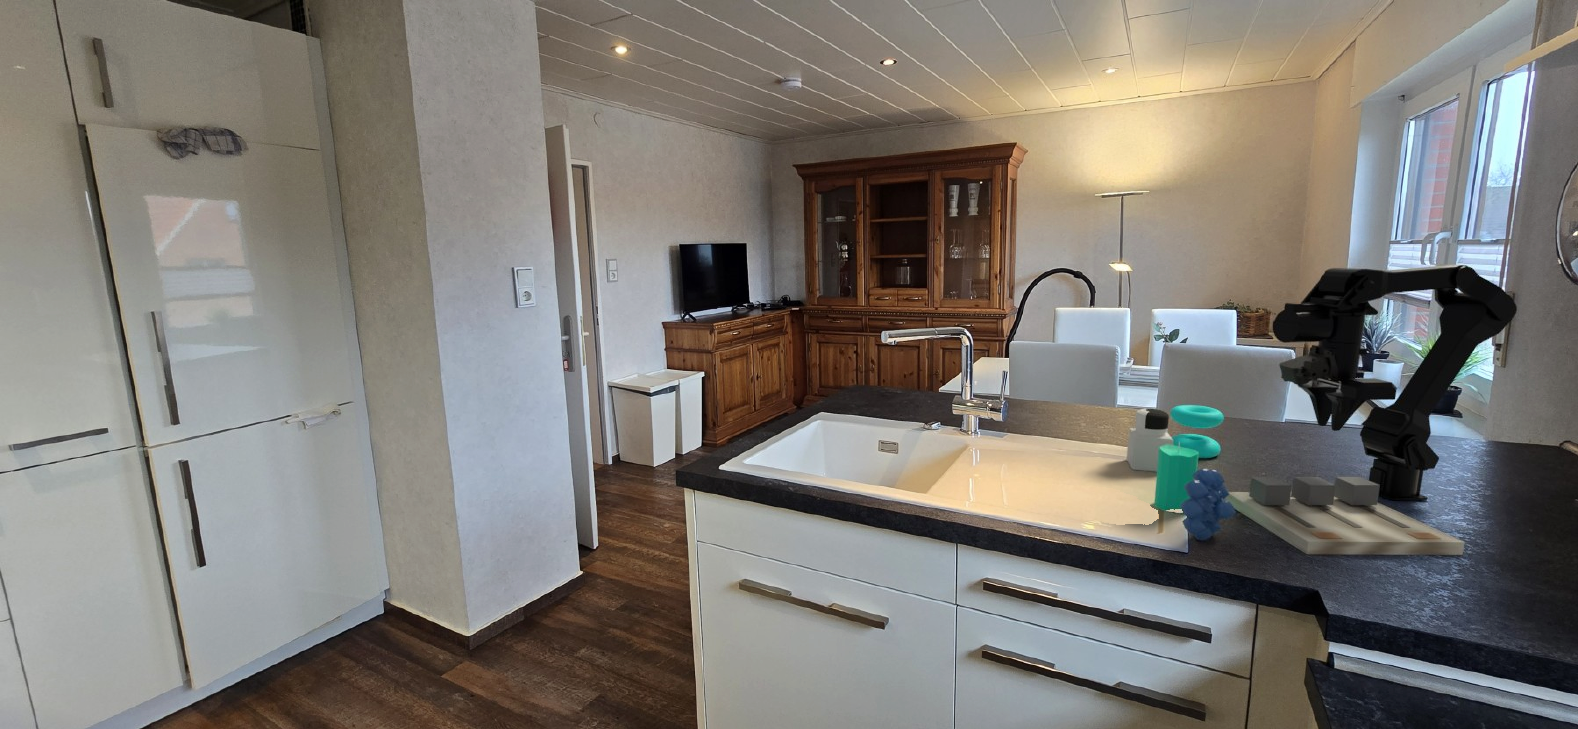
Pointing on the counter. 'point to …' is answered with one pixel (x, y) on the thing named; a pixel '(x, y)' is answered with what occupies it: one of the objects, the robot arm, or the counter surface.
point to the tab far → (1270, 491)
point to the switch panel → (1347, 528)
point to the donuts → (1197, 419)
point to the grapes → (1206, 504)
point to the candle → (1174, 475)
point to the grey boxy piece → (1356, 491)
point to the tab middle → (1313, 490)
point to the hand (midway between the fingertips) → (1328, 428)
